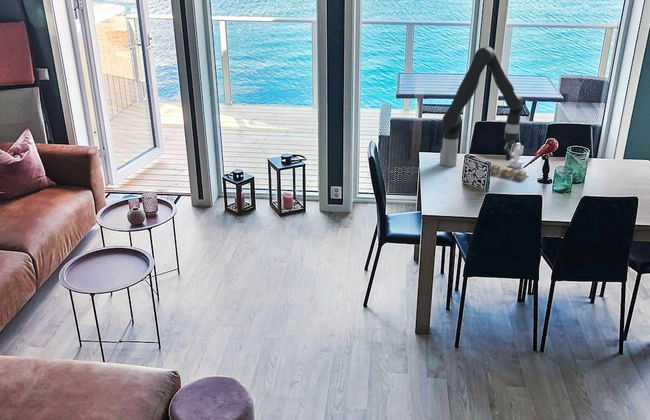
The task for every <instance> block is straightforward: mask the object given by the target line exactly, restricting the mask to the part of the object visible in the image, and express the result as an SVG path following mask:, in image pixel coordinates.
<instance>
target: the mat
mask: <svg viewBox="0 0 650 420" xmlns="http://www.w3.org/2000/svg"><path fill="white" fill-rule="evenodd" d="M490 177H494V178H498V179H503V180H506V181H511V182H515V183H521V182H523V181H524V180H526V179H527V178H529V177H530V176H529V175H526V177H525V179H523V180H518V179H514V172H513V173H512V175H511V176H510V177H505V176H501V169H500V172H499V173H497V174H493V173H491V176H490Z"/></svg>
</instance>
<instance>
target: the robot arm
mask: <svg viewBox="0 0 650 420" xmlns="http://www.w3.org/2000/svg"><path fill="white" fill-rule="evenodd" d="M486 66H487V67H488V70H490V72H491V74H492V77H493V81H494V83H495V85H496V87H497V88H498V90H499V91H500V93H501V94H502V97H503V99H504V101H505V103H506V106H508V108H509V112H508V113H507V117H506V123H505V128H504V135H503V139H504V140H506V141H505V145H504V146H503V147H502V149H503V152H504V154H505V155H506V156H505V161H507V162H508V161H509V160H511V157H512V155H511V154H512V152H513V151H514V148H515V146H516V143H517V142H516V141H517V140H519V131H520V121H521V115H522V111H523V107H524V99H523V96H521V95H520V94H519V95H518V94H516V93H515V88H514V85H513V84H512V82H511V81H510V79H509V78H508V76H507V75H506V73H505V70H503V68H502V66H501V63H500V62H499V59H498V57H497V55H496V52H495V50H494V49H493V48H492V47H491V46H483V47H480V48H479V49H478V50H476V51H475V53H474V56H473V59H472V62H471V64H470V66H469V69H468V70H467V72H466V74H465V76H464V77H463V80H462V81H461V83H460V85H459V86H458V89H457V91H456V93H455V95H454V97H453V100H452V102H451V104H450V105H449V107H448V109H447V110H446V112H445V114H444V115H443V117H442V124H443V126H444V127H445V129H444V130H445V131H443V134H442V135H443V136H442V145H441V147H442V148H441V149H440V155H439V165H441V166H443V167H445V168H446V167H447V168H453V167H456V166H457V161H458V159H457V158H458V147H459V139H460V138H459V137H460V134H461V129H462V120H463V119H462V114H461V113H462V111H463V109H464V108H465V106H466V105H467V104H468V103H469V102H470V100H471V99H472V98H473V96H474V95H475V93H476V91H477V88H478V85H479V83H480V82H479V81H480V79H481V78H480V77H481V75H482V73H483V71H484V69H485V68H486Z"/></svg>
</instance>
